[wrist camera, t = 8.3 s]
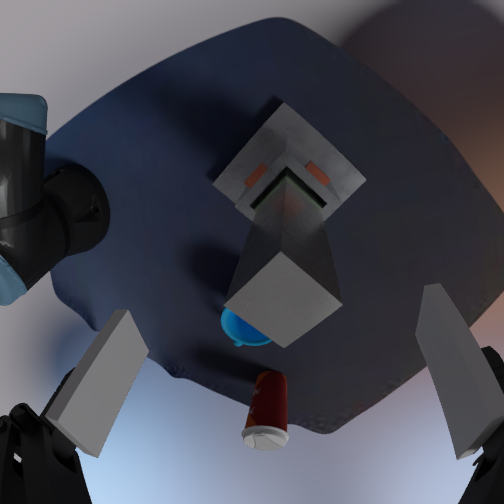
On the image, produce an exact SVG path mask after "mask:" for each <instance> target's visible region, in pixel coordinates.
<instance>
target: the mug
mask: <svg viewBox="0 0 504 504" xmlns="http://www.w3.org/2000/svg"><path fill="white" fill-rule="evenodd" d="M221 324H222V328H223V329H224V331H225V332H226V334H227V335H228V336H229V337H231V338H232V339H233V343H234V345H235V346H241V345H242V344H246V345H257V346H258V345H263V344H267V343H269V342H271V341H272V340H271V339H270V338H268V337H267V336H266V335H264V334H263V333H261V332H260V331H258V330H257V329H256V328H254V327H253V326H251V325H250V324H249V323H247V322H246V321H244V320H243V319H242V318H240V317H239V316H237V315H236V314H235V313H233V312H232V311H231V310H229V309H228V308H226V307H225V306H224V309H223V312H222V316H221Z"/></svg>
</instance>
